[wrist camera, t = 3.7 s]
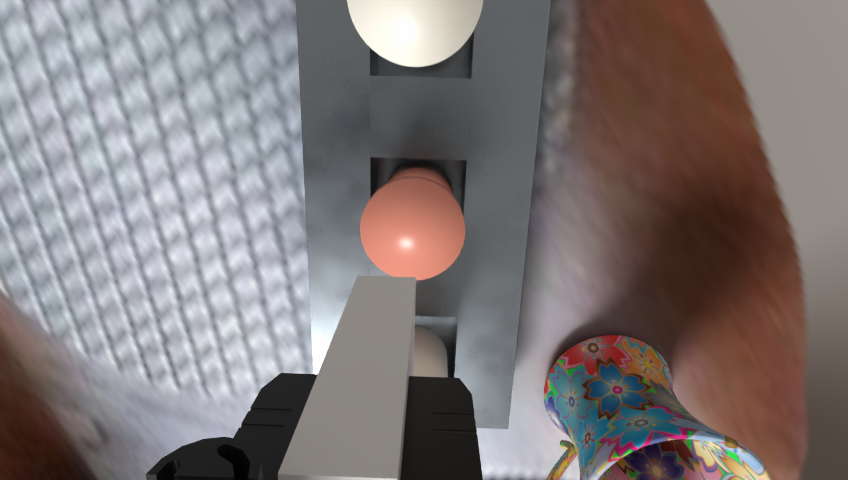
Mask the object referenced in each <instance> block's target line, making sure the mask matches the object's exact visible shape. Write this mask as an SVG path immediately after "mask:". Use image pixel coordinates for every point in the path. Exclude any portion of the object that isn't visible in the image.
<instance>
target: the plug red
mask: <svg viewBox="0 0 848 480" xmlns="http://www.w3.org/2000/svg"><path fill="white" fill-rule="evenodd" d="M360 237H361V241H362V245H363V247H364V250H365V252H366V254H367V255H368V257H369V258H370V260H371V261H372V262H373V263H374V264H375V265H376V266H377V267H378V268H379V269H380V270H382V271H383V272H385V273H387V274H389V275H391V276H393V277H416V280H424V279H428V278H431V277H434V276H436V275H438V274H440V273H442V272H443V271H445V270H446V269H447V268H448V267H450V266H451V265H452V264H453V262H454V261H455V260H456V259H457V257H458V255H459V254H460V252H461V249H462V247H463V243H464V239H465V223H464V217H463V213H462V210H461V208H460V205H459V203H458V202H457V200H456V198H455V197H454V194H453V189H452V185H451V183H450V181H449V179H448V178H447V177H446V175H445V174H444V173H443V172H442V171H441V170H439V169H438V168H436V167H434V166H432V165H429V164H426V163H411V164H408V165H405V166H403V167H401V168H399V169H398V170H396V171H395V172H394V173H393V174H392V175H391V177H390V178H389V180H388V181H387V183H386V184H385V185H383V186H382V187H381V188H379V189H378V190H377V191H376V192H375V193H374V194H373V196H372V197H371V199H370V200H369V202H368V203H367V205H366V207H365V209H364V211H363V214H362V217H361V222H360Z"/></svg>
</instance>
